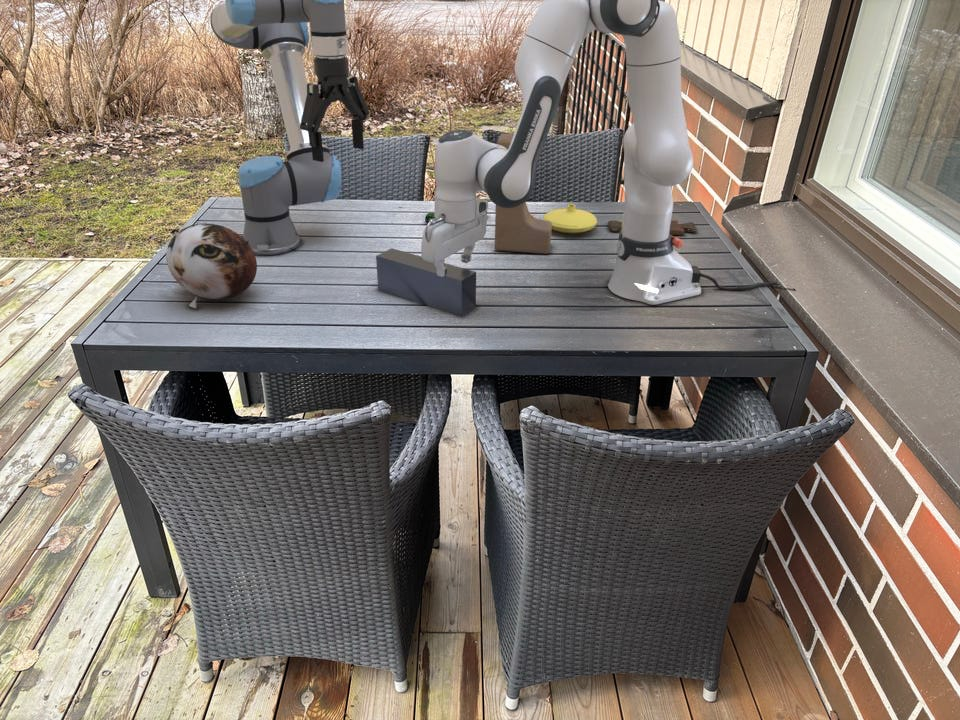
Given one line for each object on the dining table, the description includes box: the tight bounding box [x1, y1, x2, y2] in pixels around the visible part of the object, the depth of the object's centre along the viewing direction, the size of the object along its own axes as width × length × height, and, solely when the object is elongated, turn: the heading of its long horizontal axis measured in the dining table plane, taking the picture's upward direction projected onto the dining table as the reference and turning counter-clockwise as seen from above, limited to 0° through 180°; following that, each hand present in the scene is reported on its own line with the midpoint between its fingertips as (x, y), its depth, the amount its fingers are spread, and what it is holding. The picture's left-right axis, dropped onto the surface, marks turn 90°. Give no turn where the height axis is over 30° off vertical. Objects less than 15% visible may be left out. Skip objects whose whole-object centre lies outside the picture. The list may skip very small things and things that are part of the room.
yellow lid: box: [543, 203, 598, 234], centre depth 209 cm, size 16×16×7 cm
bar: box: [375, 247, 477, 317], centre depth 167 cm, size 25×6×9 cm, turn 57°
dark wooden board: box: [607, 219, 697, 235], centre depth 211 cm, size 26×2×10 cm
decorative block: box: [494, 132, 553, 255], centre depth 190 cm, size 8×15×30 cm, turn 82°
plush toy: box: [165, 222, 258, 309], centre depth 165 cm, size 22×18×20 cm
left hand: (339, 154), depth 167 cm, fingers open, 13 cm apart
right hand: (454, 268), depth 161 cm, fingers open, 8 cm apart
